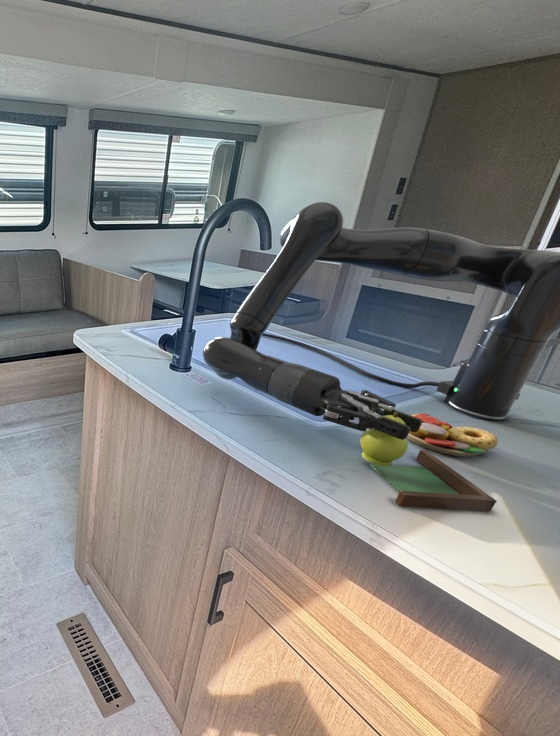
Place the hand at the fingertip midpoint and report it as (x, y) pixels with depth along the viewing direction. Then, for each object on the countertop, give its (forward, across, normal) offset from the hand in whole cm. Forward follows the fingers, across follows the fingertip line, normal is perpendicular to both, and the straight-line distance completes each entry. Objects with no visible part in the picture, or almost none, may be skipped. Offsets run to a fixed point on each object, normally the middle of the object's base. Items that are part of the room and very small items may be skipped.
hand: (413, 430), depth 65 cm
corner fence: (+2, +1, +8) cm, 9 cm away
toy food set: (0, +21, +9) cm, 23 cm away
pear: (-3, 0, +7) cm, 8 cm away
